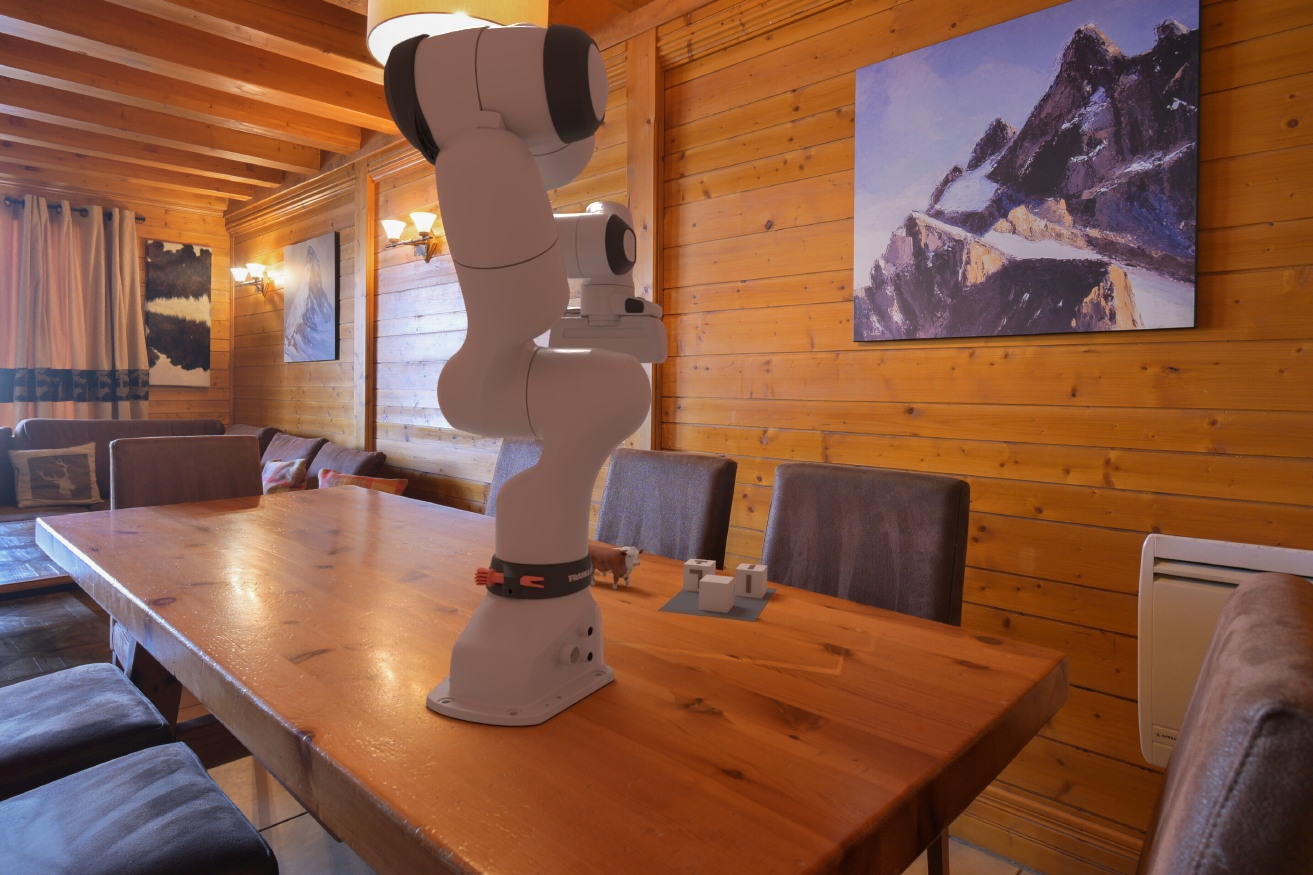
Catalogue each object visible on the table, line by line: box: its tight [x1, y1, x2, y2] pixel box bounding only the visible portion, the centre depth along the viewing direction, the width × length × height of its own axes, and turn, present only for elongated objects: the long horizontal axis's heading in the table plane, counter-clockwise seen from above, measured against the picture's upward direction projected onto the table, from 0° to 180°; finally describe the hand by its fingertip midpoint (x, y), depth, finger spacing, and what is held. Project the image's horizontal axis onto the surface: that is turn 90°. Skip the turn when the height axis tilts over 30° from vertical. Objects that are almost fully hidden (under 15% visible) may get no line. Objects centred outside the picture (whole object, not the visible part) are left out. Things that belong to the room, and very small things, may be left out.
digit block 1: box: [734, 562, 768, 599], centre depth 124 cm, size 5×4×5 cm
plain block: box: [699, 574, 735, 613], centre depth 115 cm, size 4×4×4 cm
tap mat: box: [657, 583, 777, 623], centre depth 120 cm, size 20×15×1 cm
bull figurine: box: [588, 543, 644, 590], centre depth 127 cm, size 4×13×8 cm, turn 53°
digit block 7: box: [682, 558, 717, 592], centre depth 126 cm, size 5×4×5 cm
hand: (606, 391), depth 122 cm, fingers closed
